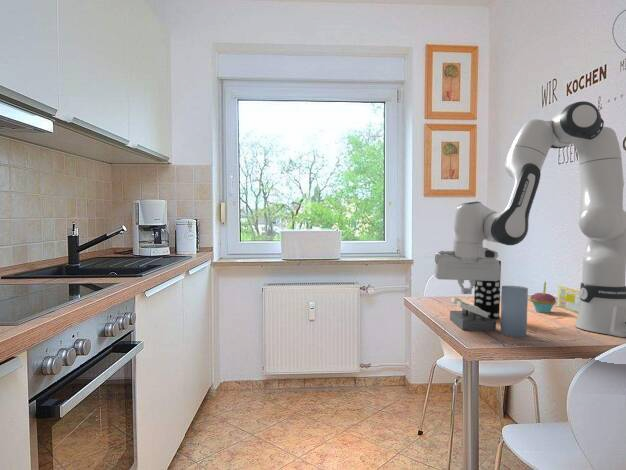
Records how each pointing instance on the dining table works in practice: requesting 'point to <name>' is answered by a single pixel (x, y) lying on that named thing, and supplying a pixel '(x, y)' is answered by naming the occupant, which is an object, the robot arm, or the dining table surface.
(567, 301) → the candy box
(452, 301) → the paddle
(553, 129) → the robot arm
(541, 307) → the cupcake
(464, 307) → the paddle
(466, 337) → the dining table surface
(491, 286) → the white-spotted black cylinder
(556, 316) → the dining table surface
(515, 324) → the blue cylinder
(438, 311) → the dining table surface
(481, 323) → the panel
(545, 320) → the dining table surface
